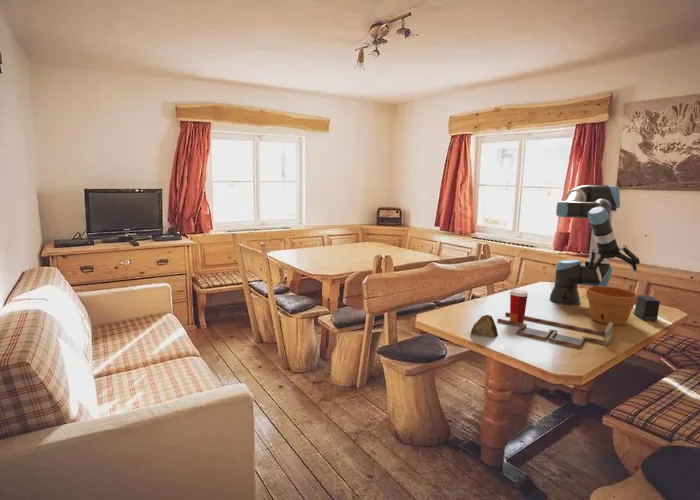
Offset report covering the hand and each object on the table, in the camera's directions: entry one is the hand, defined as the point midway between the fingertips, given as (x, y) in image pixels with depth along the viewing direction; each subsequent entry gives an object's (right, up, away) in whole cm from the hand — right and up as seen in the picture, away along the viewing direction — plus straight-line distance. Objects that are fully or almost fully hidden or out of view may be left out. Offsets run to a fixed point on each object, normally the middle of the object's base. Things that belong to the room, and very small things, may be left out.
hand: (617, 278), depth 195 cm
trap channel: (-35, -24, -6) cm, 42 cm away
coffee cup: (-44, -21, +7) cm, 49 cm away
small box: (+23, -21, +15) cm, 35 cm away
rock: (-65, -24, -10) cm, 70 cm away
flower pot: (+2, -21, +10) cm, 24 cm away
